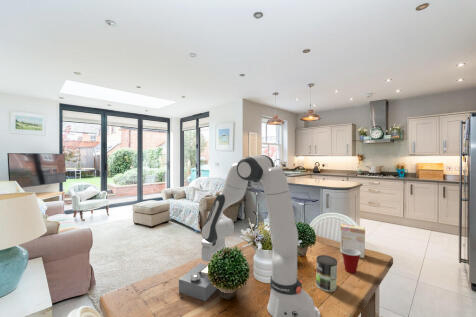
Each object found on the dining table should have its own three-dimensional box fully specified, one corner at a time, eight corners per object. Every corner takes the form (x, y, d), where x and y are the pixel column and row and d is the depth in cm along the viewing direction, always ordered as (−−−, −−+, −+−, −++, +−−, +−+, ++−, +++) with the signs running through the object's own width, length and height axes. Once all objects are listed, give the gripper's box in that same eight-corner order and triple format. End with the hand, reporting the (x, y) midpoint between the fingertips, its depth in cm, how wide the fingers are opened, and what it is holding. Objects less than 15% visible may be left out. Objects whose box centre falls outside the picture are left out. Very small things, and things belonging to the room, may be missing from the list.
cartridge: (212, 269, 128) (212, 255, 128) (219, 271, 126) (219, 257, 126) (200, 279, 117) (200, 264, 117) (208, 282, 115) (208, 266, 115)
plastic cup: (351, 265, 139) (352, 246, 139) (364, 274, 128) (365, 254, 128) (336, 266, 137) (336, 247, 137) (348, 276, 126) (349, 255, 126)
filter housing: (199, 274, 126) (200, 263, 126) (223, 281, 119) (224, 269, 119) (178, 292, 110) (178, 279, 110) (205, 301, 103) (205, 287, 103)
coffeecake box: (364, 254, 154) (365, 226, 154) (364, 258, 148) (364, 229, 148) (341, 249, 162) (341, 223, 162) (339, 253, 156) (340, 225, 156)
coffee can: (320, 291, 112) (320, 264, 111) (313, 280, 122) (313, 254, 122) (340, 292, 112) (341, 264, 112) (331, 280, 122) (332, 255, 122)
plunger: (202, 287, 110) (202, 274, 110) (196, 292, 106) (196, 279, 106) (194, 284, 112) (194, 272, 112) (188, 289, 108) (188, 276, 108)
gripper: (218, 231, 135) (218, 253, 136) (199, 243, 117) (199, 269, 117) (227, 233, 133) (227, 255, 133) (209, 245, 114) (209, 272, 114)
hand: (214, 262), depth 125 cm, fingers closed on cartridge, 3 cm apart
